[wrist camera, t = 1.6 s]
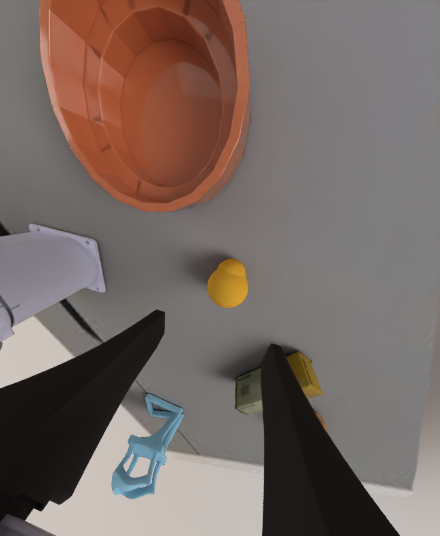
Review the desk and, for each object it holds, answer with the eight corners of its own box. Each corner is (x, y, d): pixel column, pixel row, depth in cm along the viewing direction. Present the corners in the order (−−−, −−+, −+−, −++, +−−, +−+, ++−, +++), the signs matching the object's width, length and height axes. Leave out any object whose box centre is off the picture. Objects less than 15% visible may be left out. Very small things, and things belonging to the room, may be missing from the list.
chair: (184, 420, 36) (155, 514, 25) (151, 410, 37) (110, 496, 27) (182, 402, 33) (148, 503, 22) (146, 392, 34) (97, 483, 23)
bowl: (116, 194, 16) (71, 194, 12) (95, -3, 11) (-2, -125, 7) (230, 220, 15) (222, 229, 11) (273, 14, 10) (288, -120, 6)
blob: (210, 287, 19) (199, 309, 15) (216, 250, 17) (206, 266, 13) (243, 296, 19) (241, 321, 15) (255, 259, 16) (255, 278, 13)
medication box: (246, 384, 26) (246, 416, 23) (234, 377, 25) (233, 409, 22) (311, 360, 20) (325, 396, 17) (298, 350, 20) (310, 386, 16)
